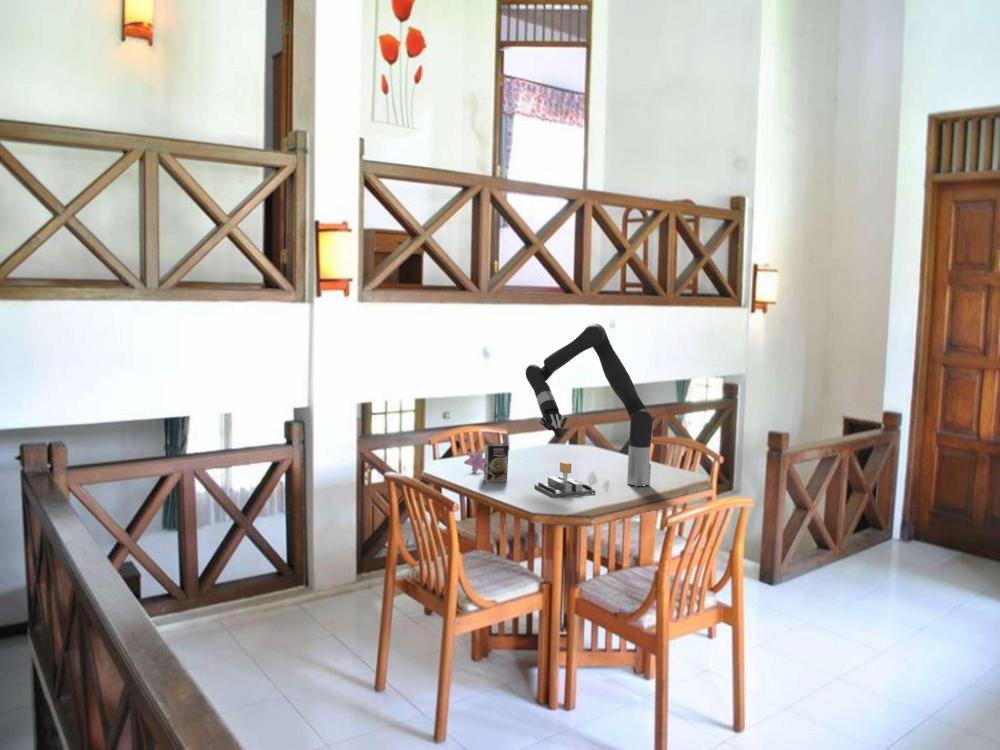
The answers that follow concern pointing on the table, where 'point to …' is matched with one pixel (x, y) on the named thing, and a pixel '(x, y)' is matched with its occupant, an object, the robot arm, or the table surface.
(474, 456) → the lily
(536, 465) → the table surface
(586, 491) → the breaker panel
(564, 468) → the lever
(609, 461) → the table surface
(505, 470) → the coffee box
